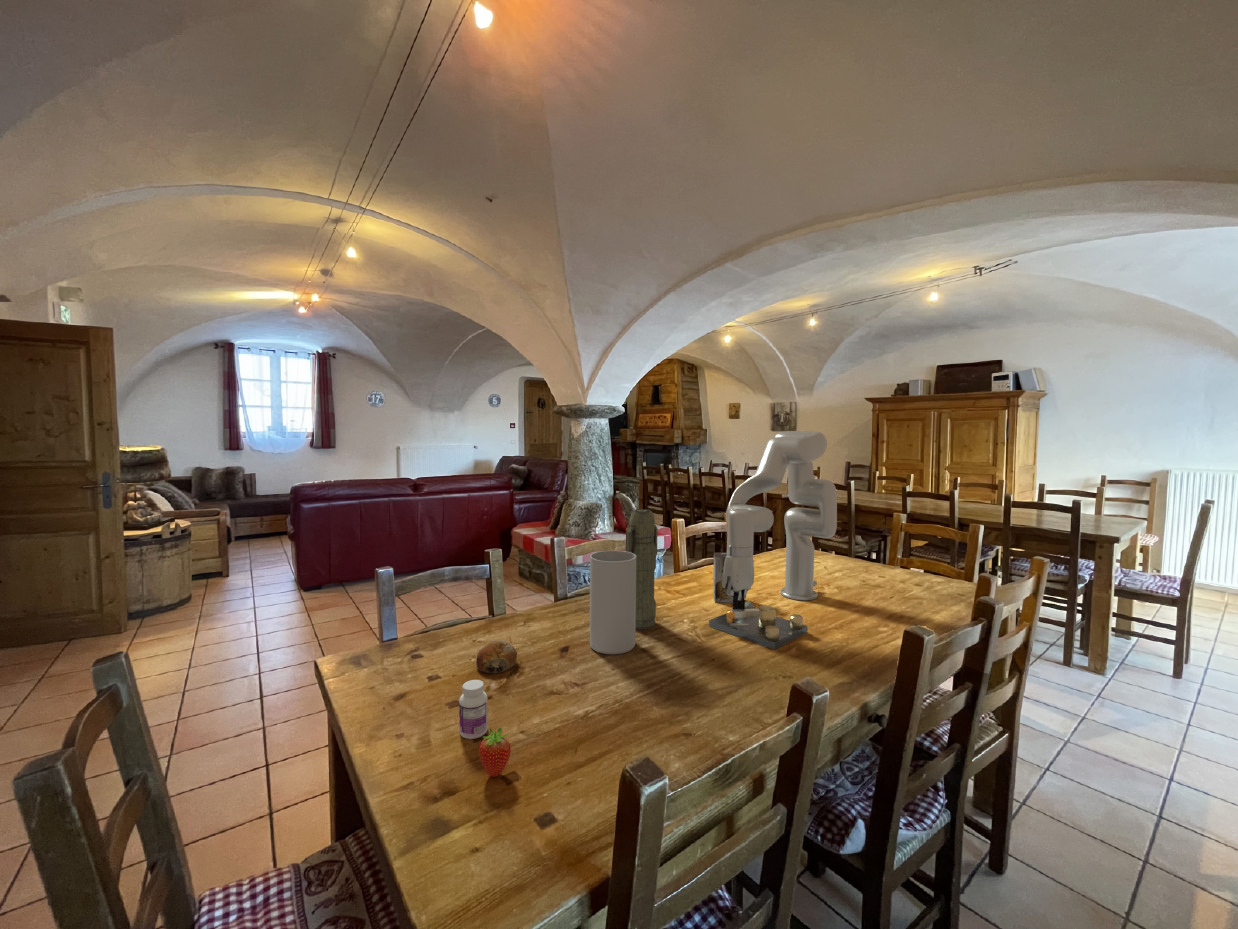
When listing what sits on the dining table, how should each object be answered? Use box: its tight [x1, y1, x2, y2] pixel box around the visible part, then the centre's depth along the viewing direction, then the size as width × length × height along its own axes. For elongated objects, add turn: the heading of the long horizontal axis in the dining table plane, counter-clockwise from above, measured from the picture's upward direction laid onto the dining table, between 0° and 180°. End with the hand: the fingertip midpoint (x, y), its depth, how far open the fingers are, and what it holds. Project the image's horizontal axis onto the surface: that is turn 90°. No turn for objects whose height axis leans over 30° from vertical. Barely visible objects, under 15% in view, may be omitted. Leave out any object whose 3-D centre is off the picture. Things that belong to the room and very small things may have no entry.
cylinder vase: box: [589, 550, 637, 655], centre depth 141 cm, size 12×12×25 cm
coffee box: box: [712, 552, 733, 604], centre depth 179 cm, size 9×6×16 cm
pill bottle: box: [458, 679, 489, 740], centre depth 101 cm, size 5×5×10 cm
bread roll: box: [475, 639, 518, 674], centre depth 130 cm, size 10×10×8 cm
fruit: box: [478, 727, 511, 778], centre depth 88 cm, size 5×5×8 cm
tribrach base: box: [708, 601, 809, 651], centre depth 153 cm, size 18×22×5 cm
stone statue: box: [625, 508, 658, 631], centre depth 156 cm, size 9×12×35 cm
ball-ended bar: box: [726, 605, 777, 629], centre depth 150 cm, size 15×5×5 cm, turn 98°
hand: (738, 611), depth 154 cm, fingers closed
